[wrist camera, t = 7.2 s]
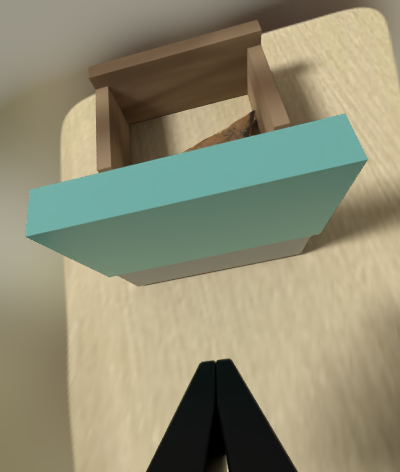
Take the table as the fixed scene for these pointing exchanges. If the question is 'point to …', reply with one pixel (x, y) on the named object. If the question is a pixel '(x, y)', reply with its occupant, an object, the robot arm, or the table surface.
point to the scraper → (202, 204)
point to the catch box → (182, 86)
